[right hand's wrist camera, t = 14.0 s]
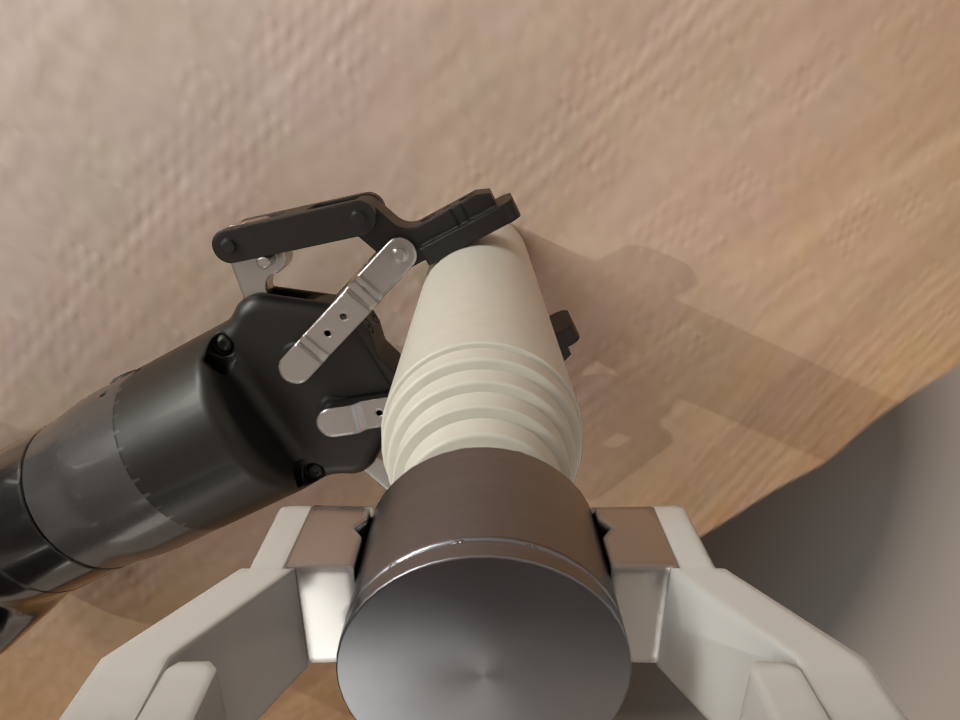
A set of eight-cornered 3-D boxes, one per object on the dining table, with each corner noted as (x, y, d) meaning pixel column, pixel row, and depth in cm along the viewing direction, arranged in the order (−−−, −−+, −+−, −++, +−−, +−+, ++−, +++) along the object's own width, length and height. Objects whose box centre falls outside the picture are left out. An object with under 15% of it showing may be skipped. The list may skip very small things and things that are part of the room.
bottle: (437, 208, 29) (319, 492, 8) (534, 219, 29) (684, 525, 8) (429, 302, 30) (315, 749, 9) (521, 311, 31) (616, 771, 9)
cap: (336, 587, 11) (294, 726, 8) (423, 408, 10) (403, 511, 7) (532, 657, 11) (547, 805, 9) (638, 497, 10) (689, 621, 8)
